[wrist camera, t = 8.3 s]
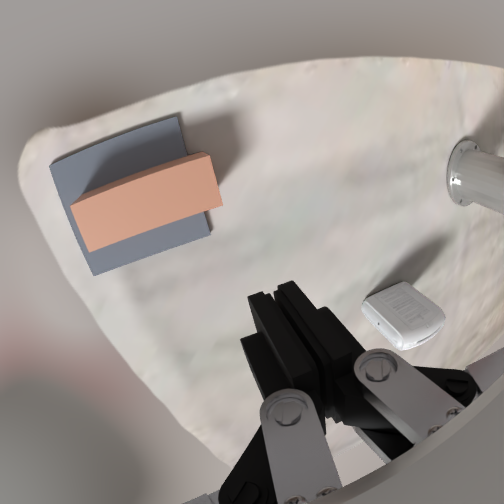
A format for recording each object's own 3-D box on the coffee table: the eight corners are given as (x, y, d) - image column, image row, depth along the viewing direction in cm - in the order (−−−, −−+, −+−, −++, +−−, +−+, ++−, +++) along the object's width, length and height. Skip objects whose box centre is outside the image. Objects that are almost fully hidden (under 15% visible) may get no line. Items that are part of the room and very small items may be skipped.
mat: (176, 116, 29) (176, 116, 29) (209, 233, 36) (210, 234, 35) (50, 165, 27) (48, 165, 26) (94, 274, 33) (93, 276, 33)
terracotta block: (209, 155, 27) (69, 206, 24) (223, 205, 29) (89, 252, 27) (202, 151, 31) (81, 194, 29) (213, 194, 33) (97, 235, 31)
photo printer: (360, 317, 49) (403, 361, 39) (360, 298, 48) (407, 341, 37) (403, 296, 51) (448, 332, 40) (405, 277, 49) (453, 312, 39)
